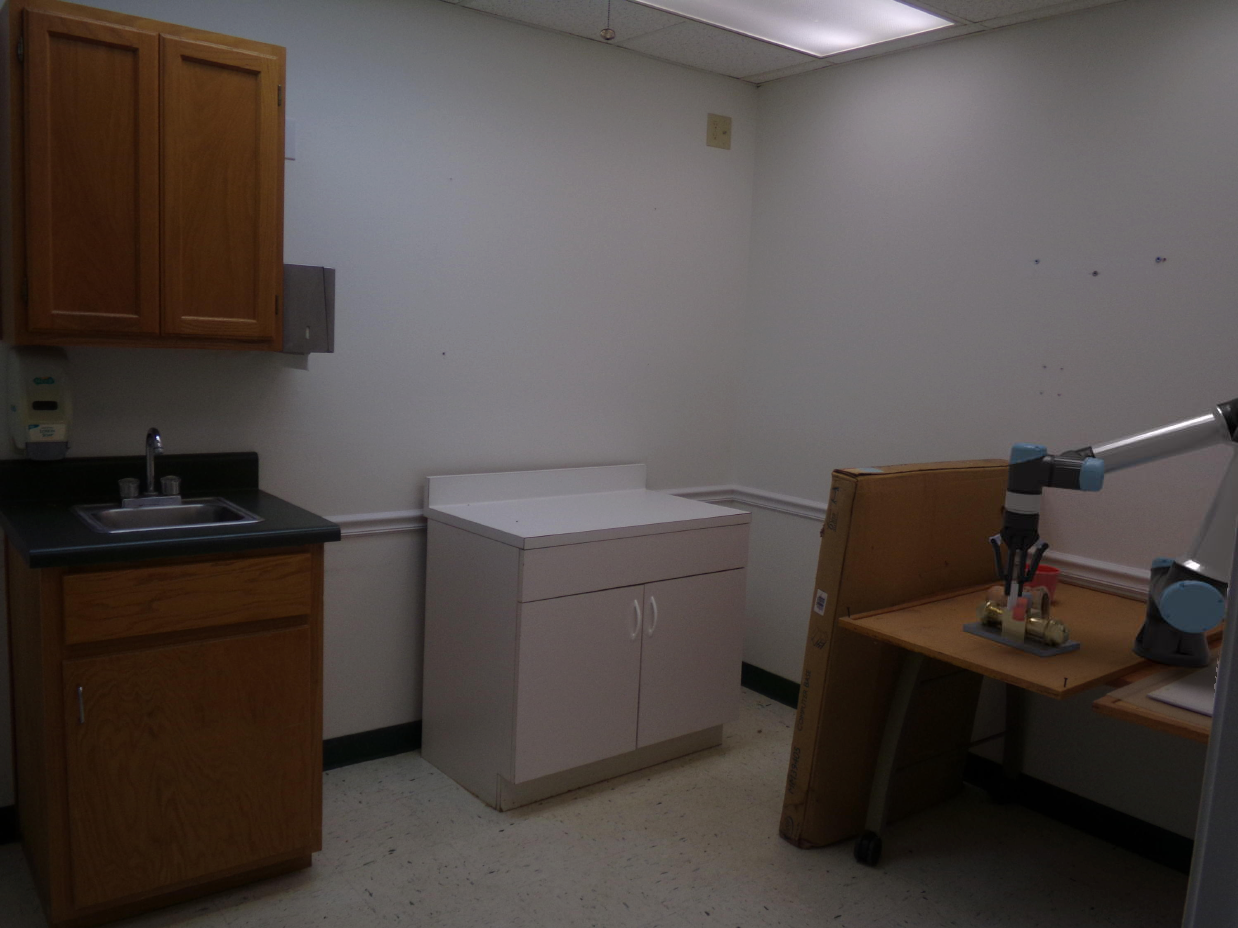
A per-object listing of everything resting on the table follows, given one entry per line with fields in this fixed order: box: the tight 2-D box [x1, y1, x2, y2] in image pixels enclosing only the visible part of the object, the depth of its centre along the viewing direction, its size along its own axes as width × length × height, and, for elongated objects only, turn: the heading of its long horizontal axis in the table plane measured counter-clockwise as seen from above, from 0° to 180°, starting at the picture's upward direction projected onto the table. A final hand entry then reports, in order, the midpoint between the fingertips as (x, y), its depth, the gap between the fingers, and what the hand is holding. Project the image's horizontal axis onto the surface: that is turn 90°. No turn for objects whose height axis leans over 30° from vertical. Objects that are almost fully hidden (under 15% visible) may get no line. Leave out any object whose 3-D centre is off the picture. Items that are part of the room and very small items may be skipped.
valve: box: [962, 600, 1081, 658], centre depth 220 cm, size 22×14×8 cm, turn 32°
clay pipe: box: [984, 585, 1052, 621], centre depth 236 cm, size 19×11×15 cm
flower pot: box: [1023, 562, 1061, 603], centre depth 256 cm, size 11×11×10 cm
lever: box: [1012, 592, 1032, 621], centre depth 213 cm, size 4×16×4 cm, turn 152°
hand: (1011, 609), depth 212 cm, fingers closed
